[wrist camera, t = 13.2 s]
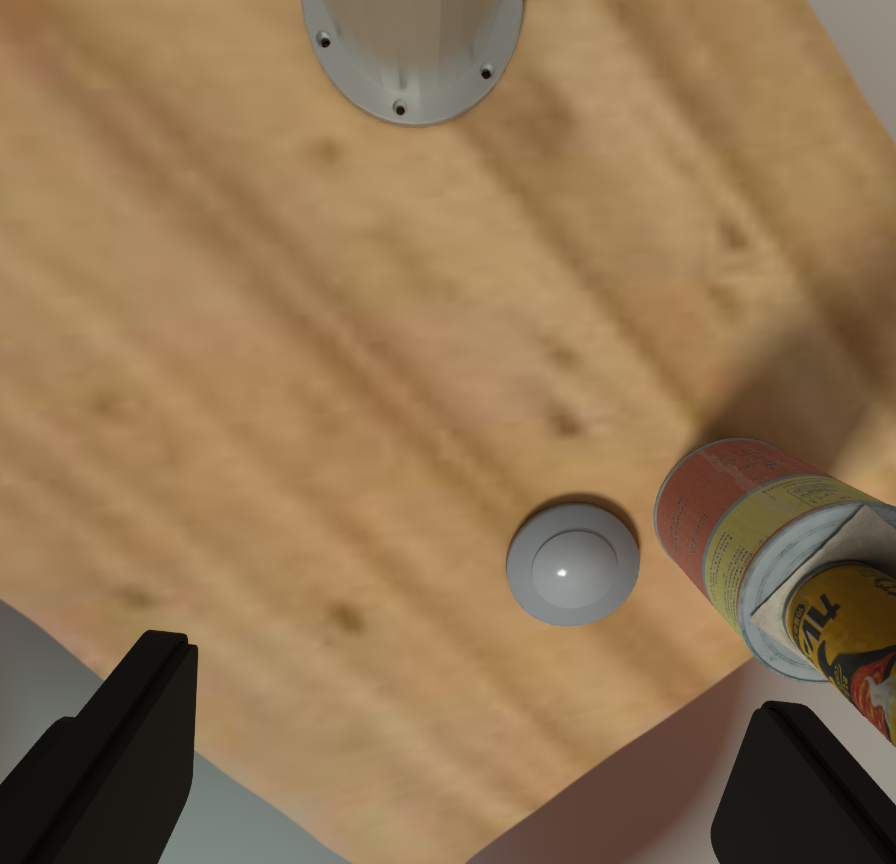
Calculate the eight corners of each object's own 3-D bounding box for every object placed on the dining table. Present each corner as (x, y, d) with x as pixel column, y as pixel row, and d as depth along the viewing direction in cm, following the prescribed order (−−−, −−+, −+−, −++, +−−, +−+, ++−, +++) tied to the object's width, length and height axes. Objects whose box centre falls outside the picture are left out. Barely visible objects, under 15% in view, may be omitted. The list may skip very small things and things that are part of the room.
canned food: (746, 596, 44) (859, 710, 32) (625, 541, 42) (700, 641, 30) (831, 475, 41) (988, 553, 29) (706, 412, 39) (821, 467, 28)
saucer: (519, 493, 41) (522, 500, 39) (649, 511, 41) (655, 518, 40) (495, 610, 43) (497, 620, 42) (617, 625, 44) (623, 635, 43)
